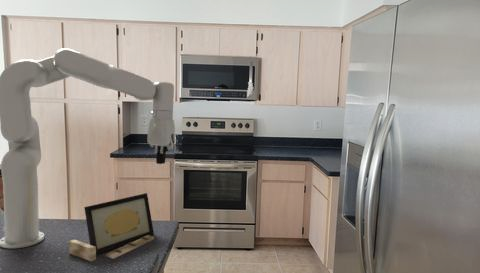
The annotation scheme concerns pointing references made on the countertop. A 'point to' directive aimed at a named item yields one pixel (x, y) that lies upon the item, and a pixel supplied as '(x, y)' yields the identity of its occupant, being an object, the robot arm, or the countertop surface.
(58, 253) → the countertop surface
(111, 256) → the strip
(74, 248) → the block
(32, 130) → the robot arm
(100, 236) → the picture frame
